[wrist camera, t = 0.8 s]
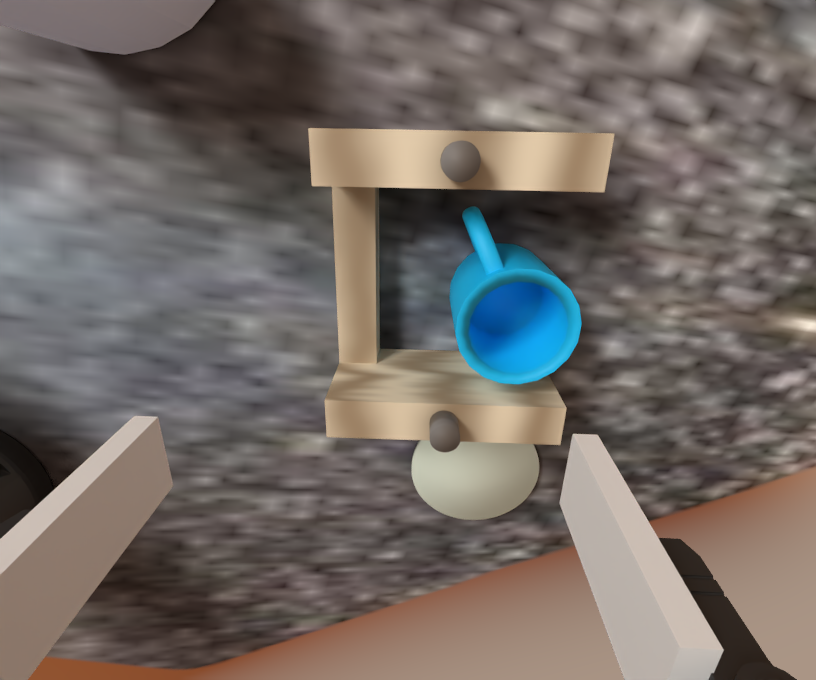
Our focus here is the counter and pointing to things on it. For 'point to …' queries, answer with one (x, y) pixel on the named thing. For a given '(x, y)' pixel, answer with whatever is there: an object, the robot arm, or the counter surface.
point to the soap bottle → (105, 21)
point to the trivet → (475, 477)
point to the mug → (510, 310)
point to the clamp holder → (360, 281)
